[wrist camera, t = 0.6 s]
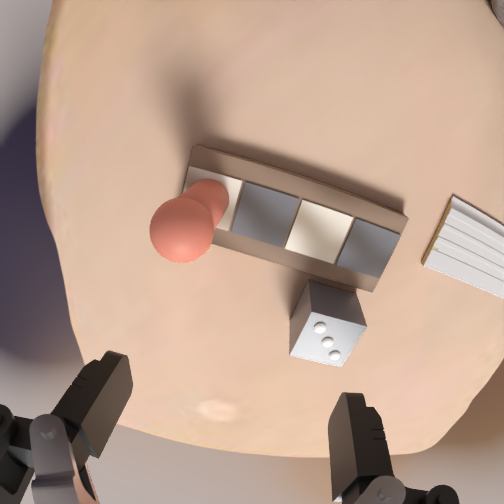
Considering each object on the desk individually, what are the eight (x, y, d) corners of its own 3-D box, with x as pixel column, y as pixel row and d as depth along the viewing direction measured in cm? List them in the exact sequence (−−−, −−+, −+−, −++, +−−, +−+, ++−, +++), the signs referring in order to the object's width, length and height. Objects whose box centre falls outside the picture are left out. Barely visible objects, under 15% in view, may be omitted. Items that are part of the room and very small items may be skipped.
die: (308, 279, 33) (311, 312, 28) (356, 293, 34) (367, 327, 28) (289, 320, 36) (289, 356, 30) (335, 332, 36) (341, 368, 31)
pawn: (191, 170, 28) (143, 200, 18) (238, 183, 28) (212, 220, 18) (181, 214, 30) (135, 262, 20) (225, 227, 30) (197, 283, 20)
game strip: (197, 144, 28) (192, 146, 27) (403, 213, 29) (409, 219, 28) (178, 227, 32) (173, 232, 31) (369, 285, 33) (372, 293, 31)
